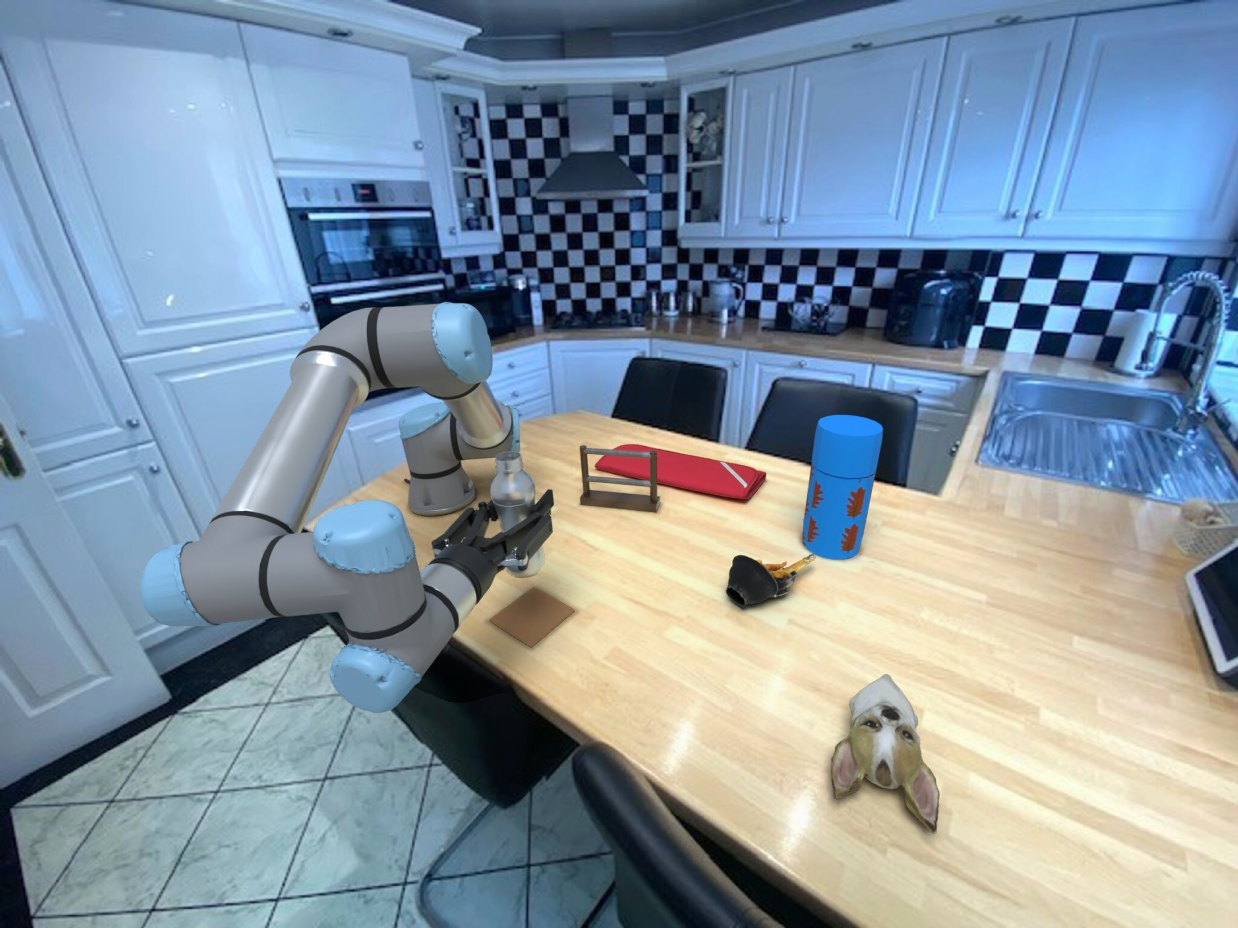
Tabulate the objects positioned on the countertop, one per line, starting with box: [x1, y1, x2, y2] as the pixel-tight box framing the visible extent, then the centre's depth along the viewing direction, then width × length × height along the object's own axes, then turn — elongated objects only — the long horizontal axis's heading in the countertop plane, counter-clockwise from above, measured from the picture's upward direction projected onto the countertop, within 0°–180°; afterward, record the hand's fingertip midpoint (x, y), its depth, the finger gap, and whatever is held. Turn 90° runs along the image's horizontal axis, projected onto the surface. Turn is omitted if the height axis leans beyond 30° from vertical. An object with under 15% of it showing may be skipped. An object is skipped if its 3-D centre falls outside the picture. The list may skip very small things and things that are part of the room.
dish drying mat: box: [594, 443, 767, 500], centre depth 128 cm, size 16×41×4 cm, turn 58°
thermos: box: [801, 414, 884, 561], centre depth 94 cm, size 11×11×25 cm
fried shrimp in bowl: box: [725, 553, 817, 608], centre depth 87 cm, size 9×11×18 cm
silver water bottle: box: [489, 451, 546, 579], centre depth 76 cm, size 6×7×20 cm
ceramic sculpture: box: [830, 673, 941, 835], centre depth 58 cm, size 11×9×15 cm
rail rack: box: [579, 444, 661, 513], centre depth 114 cm, size 18×4×14 cm, turn 75°
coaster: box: [489, 587, 576, 648], centre depth 84 cm, size 10×10×1 cm
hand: (531, 495), depth 80 cm, fingers closed on silver water bottle, 6 cm apart
